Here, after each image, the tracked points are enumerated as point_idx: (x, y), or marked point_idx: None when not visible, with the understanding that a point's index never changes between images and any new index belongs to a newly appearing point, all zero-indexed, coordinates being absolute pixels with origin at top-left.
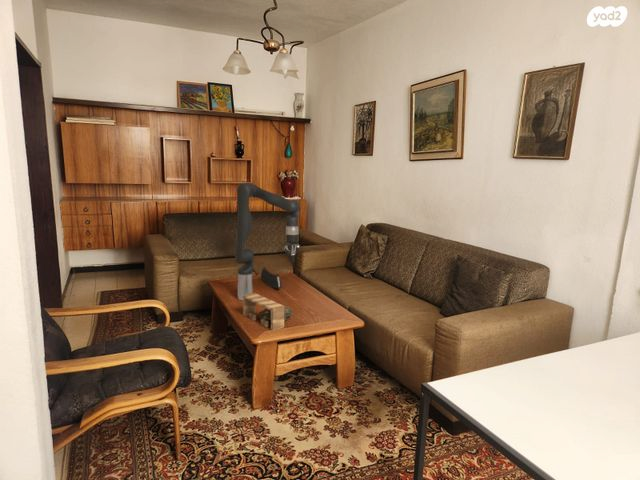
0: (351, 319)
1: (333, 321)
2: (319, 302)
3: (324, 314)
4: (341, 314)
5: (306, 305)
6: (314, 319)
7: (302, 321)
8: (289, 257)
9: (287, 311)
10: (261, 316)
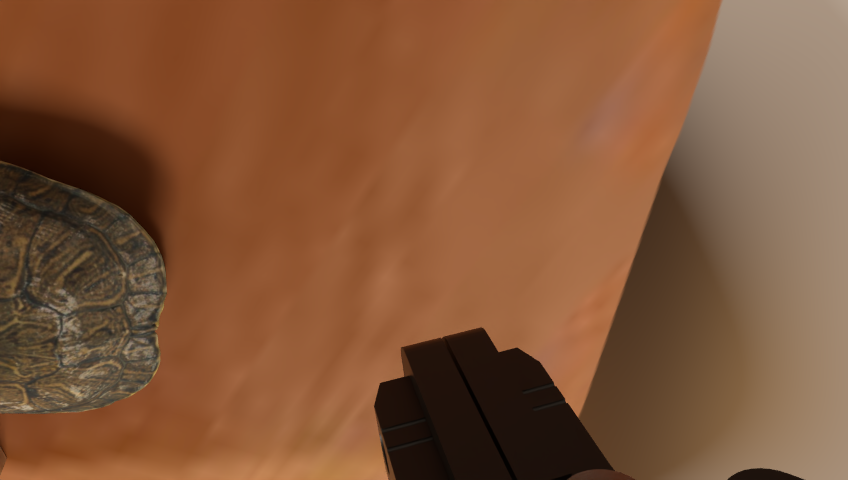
0: None
1: None
2: (597, 100)
3: None
4: None
5: (447, 110)
6: (318, 405)
7: (209, 408)
8: (392, 469)
9: (81, 395)
10: None
